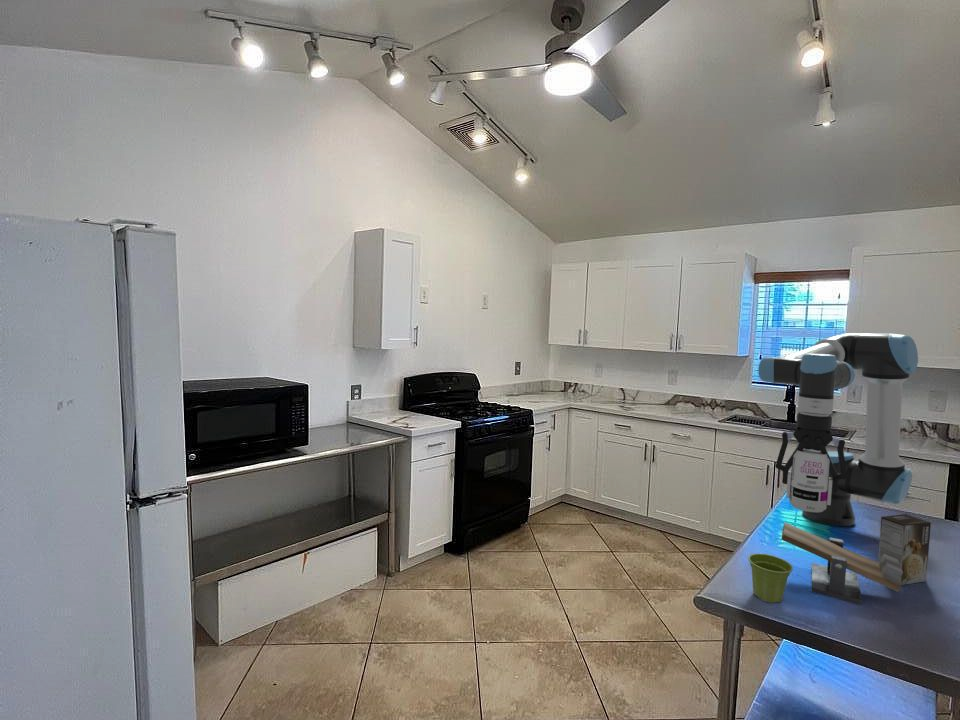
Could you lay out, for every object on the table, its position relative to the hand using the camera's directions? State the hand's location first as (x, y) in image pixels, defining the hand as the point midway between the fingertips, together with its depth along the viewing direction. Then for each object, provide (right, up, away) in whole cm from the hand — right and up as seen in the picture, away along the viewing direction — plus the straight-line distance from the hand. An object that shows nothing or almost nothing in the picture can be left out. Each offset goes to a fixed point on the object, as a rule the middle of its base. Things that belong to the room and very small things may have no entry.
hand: (807, 499), depth 133 cm
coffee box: (+26, -22, +2) cm, 34 cm away
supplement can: (0, -2, 0) cm, 2 cm away
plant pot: (-15, -21, -9) cm, 28 cm away
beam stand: (+6, -21, -2) cm, 22 cm away
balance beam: (+6, -13, -3) cm, 15 cm away
